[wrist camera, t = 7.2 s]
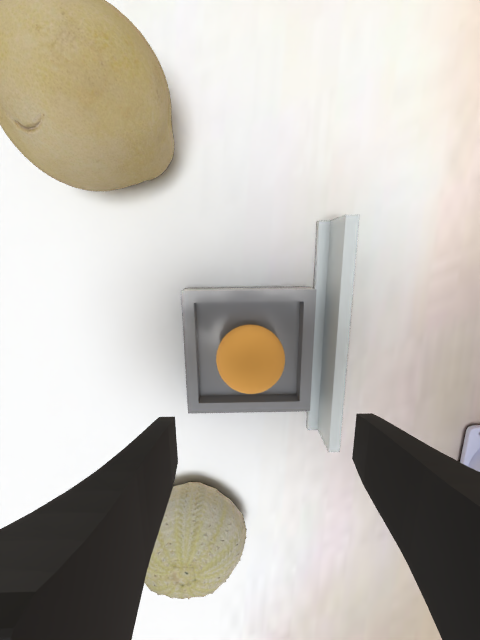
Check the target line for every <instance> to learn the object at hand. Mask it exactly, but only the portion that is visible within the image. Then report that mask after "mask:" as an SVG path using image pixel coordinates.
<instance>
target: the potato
mask: <svg viewBox="0 0 480 640" xmlns="http://www.w3.org/2000/svg"><path fill="white" fill-rule="evenodd" d="M0 125H1V127H2V128H3V130H4V132H5V133H6V135H7V136H8V137H9V139H10V140H11V141H12V143H13V144H14V145H15V146H16V147H17V148H18V149H19V151H20V152H21V153H22V154H23V155H24V156H25V157H26V158H27V159H28V160H29V161H30V162H32V163H33V164H34V165H35V166H36V167H38V168H39V169H40V170H42V171H43V172H44V173H46V174H47V175H49V176H51V177H52V178H54V179H56V180H58V181H60V182H63V183H65V184H67V185H70V186H72V187H75V188H79V189H84V190H89V191H109V190H115V189H120V188H125V187H128V186H132V185H135V184H138V183H141V182H144V181H146V180H152V179H154V178H156V177H158V176H159V175H161V174H162V173H163V172H164V171H165V170H166V168H167V167H168V165H169V164H170V162H171V160H172V157H173V153H174V138H173V132H172V124H171V100H170V93H169V89H168V85H167V81H166V78H165V75H164V72H163V70H162V67H161V65H160V63H159V61H158V59H157V57H156V55H155V53H154V52H153V50H152V48H151V47H150V45H149V44H148V42H147V41H146V39H145V38H144V36H143V35H142V34H141V32H140V31H139V30H138V29H137V28H136V27H135V26H134V25H133V23H132V22H131V21H130V20H129V19H128V18H127V17H126V16H124V15H123V14H122V13H121V12H120V11H119V10H118V9H117V8H115V7H114V6H113V5H111V4H110V3H108V2H107V1H105V0H0Z"/></svg>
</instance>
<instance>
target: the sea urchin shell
mask: <svg viewBox="0 0 480 640" xmlns="http://www.w3.org/2000/svg"><path fill="white" fill-rule="evenodd" d="M245 539H246V527H245V522H244V518H243V515H242V514H241V512H240V511H239V510H238V508H237V507H236V506H235V504H234V503H233V502H232V501H231V500H230V499H229V498H227V497H226V496H224V495H223V494H222V493H220V492H219V491H218V490H217V489H216V488H213V487H210V486H207V485H205V484H202V483H201V482H190V481H189V482H188V483H185V484H181V485H176V486H173V489H172V492H171V495H170V498H169V502H168V505H167V508H166V511H165V514H164V517H163V520H162V524H161V527H160V530H159V533H158V536H157V539H156V542H155V545H154V549H153V552H152V555H151V558H150V562H149V565H148V569H147V573H146V577H145V581H144V582H145V584H146V585H147V587H148V588H149V589H150V590H151V591H153V592H155V593H157V594H158V595H166V596H169V597H170V598H180V599H184V598H188V599H189V598H191V597H204V596H206V595H208V594H212V593H213V592H214V591H215V590H216V589H217V588H218V587H219V586H220V585H221V584H222V583H224V582H226V579H228V578H229V576H230V574H231V573H232V571H233V569H234V568H235V567H236V565H237V564H238V562H239V561H240V557H241V555H242V552H243V549H244V544H245Z"/></svg>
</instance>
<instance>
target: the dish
mask: <svg viewBox="0 0 480 640" xmlns="http://www.w3.org/2000/svg"><path fill="white" fill-rule="evenodd" d="M316 291H317V290H316V289H314V288H311V287H257V288H185V289H184V290H182V291H181V299H182V316H183V333H184V350H185V368H186V385H187V402H188V413H234V412H286V411H310V402H311V384H312V365H313V346H314V328H315V309H316ZM250 324H251V325H259V326H262V327H264V328H266V329H268V330H270V331H271V332H272V333H274V334H275V335H276V337H277V338H278V339H279V341H280V342H281V344H282V346H283V349H284V353H285V366H284V370H283V372H282V375H281V377H280V378H279V380H278V381H277V382H276V383H275V384H274V385H273V386H272V387H271V388H269V389H268V390H266V391H264V392H261V393H257V394H245V393H241V392H238V391H236V390H234V389H232V388H231V387H229V386H228V385H227V384H226V383H225V382H224V380H223V379H222V378H221V376H220V374H219V371H218V368H217V363H216V354H217V350H218V347H219V344H220V342H221V341H222V339H223V338H224V337H225V335H226V334H227V333H229V332H230V331H231V330H233V329H234V328H237V327H239V326H242V325H250Z"/></svg>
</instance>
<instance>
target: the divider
mask: <svg viewBox="0 0 480 640" xmlns="http://www.w3.org/2000/svg"><path fill="white" fill-rule="evenodd" d="M359 216H360V215H344V216H342V217H339V218H336V219H334V220H331V221H317V234H316V253H315V273H314V289H316V290H317V291H316V309H315V328H314V346H313V365H312V384H311V402H310V411H307V429H308V430H318V431H319V433H320V435H321V438H322V440H323V442H324V444H325V446H326V448H327V450H328V452H340V442H341V430H342V418H343V406H344V395H345V383H346V371H347V359H348V347H349V335H350V323H351V311H352V299H353V287H354V276H355V264H356V252H357V240H358V228H359Z"/></svg>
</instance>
